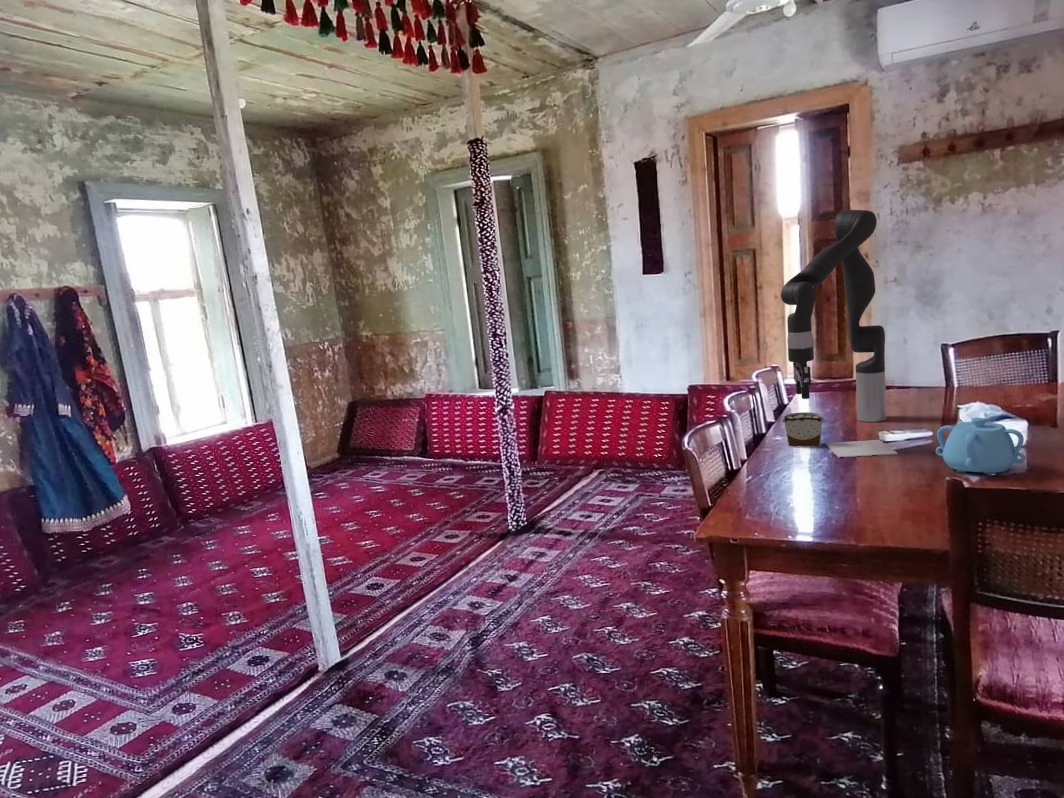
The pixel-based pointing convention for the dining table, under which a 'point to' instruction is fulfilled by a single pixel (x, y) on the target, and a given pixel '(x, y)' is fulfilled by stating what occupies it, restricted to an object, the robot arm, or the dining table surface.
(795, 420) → the food container
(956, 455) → the decorative pot
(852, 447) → the mat
